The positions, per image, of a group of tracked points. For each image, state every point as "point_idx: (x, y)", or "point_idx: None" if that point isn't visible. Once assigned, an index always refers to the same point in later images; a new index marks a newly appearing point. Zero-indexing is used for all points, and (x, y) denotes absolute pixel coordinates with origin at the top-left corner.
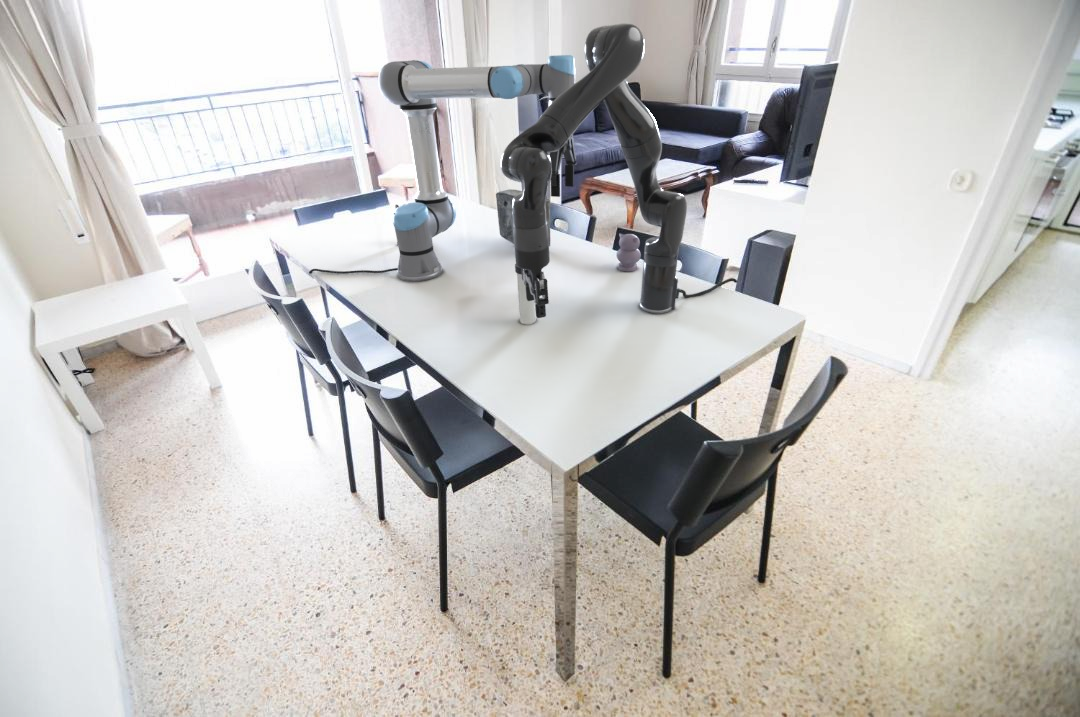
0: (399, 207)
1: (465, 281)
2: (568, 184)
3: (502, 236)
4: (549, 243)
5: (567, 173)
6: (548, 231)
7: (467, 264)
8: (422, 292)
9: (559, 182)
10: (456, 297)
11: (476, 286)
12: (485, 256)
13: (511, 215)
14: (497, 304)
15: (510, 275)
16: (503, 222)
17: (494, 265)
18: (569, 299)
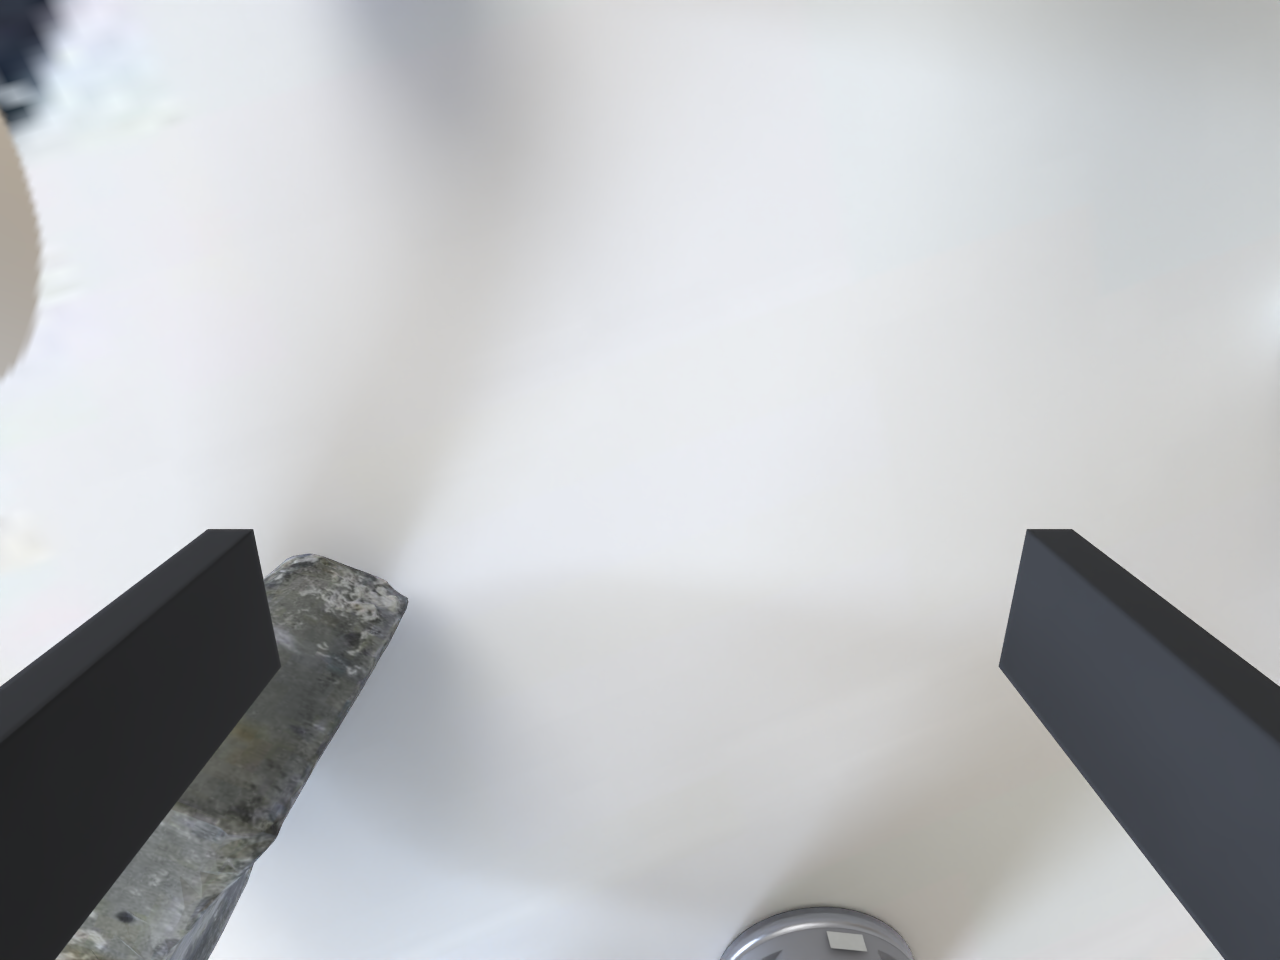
0: None
1: (861, 780)
2: (251, 631)
3: (252, 864)
4: (306, 563)
5: (122, 804)
6: (274, 611)
7: (645, 858)
8: (1018, 882)
9: (1253, 681)
10: None
11: (913, 712)
12: (509, 830)
13: (189, 937)
14: (1123, 534)
15: (733, 618)
16: (208, 935)
17: (618, 743)
18: (1018, 162)
